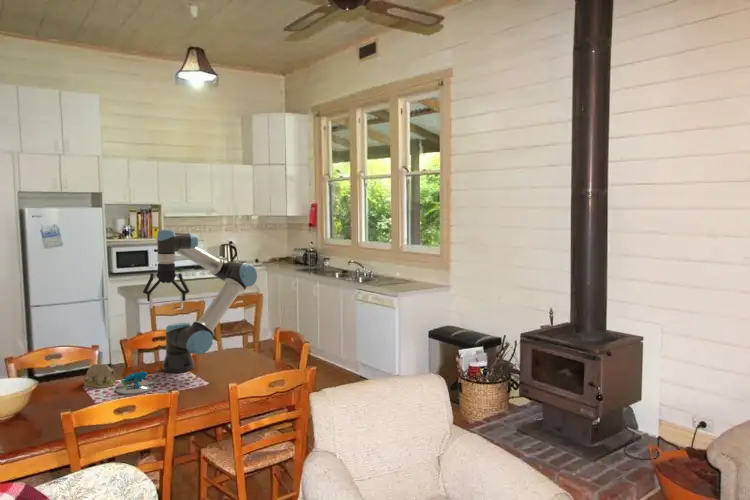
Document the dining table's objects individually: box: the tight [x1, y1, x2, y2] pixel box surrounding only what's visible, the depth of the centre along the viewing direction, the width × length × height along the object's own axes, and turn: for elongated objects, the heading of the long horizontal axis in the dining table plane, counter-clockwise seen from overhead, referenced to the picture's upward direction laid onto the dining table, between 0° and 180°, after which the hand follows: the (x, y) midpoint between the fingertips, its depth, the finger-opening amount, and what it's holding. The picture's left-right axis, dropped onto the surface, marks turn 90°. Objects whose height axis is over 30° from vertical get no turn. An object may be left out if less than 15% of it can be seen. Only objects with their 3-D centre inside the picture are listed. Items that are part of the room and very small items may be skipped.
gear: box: [120, 370, 148, 389], centre depth 249 cm, size 11×6×10 cm
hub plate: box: [115, 380, 155, 396], centre depth 251 cm, size 16×16×1 cm
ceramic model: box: [82, 362, 117, 389], centre depth 256 cm, size 14×11×10 cm
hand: (166, 308), depth 260 cm, fingers open, 13 cm apart
